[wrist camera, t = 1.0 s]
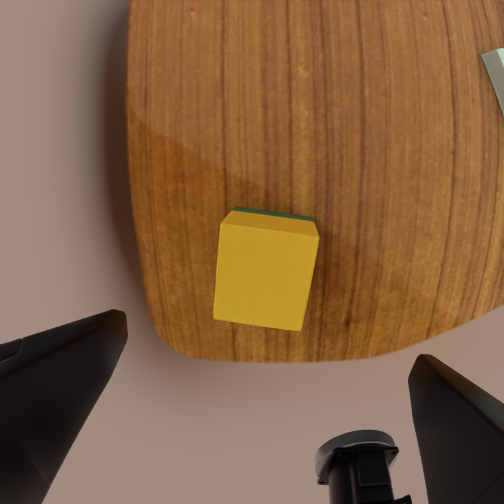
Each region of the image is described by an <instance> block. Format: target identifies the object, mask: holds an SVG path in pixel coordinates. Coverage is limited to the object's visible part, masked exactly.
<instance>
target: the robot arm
mask: <svg viewBox="0 0 504 504" xmlns="http://www.w3.org/2000/svg"><path fill="white" fill-rule="evenodd" d="M127 338H128V331H127V318H126V314H125V313H124V312H122V311H119V310H115V309H112V310H109V311H106V312H103V313H99V314H96V315H93V316H90V317H87V318H84V319H81V320H78V321H74V322H71V323H68V324H65V325H62V326H59V327H56V328H53V329H49V330H46V331H43V332H40V333H37V334H33V335H30V336H27V337H24V338H23V339H17V340H14V341H11V342H7V343H4V344H0V504H42V502H43V500H44V498H45V496H46V494H47V492H48V490H49V488H50V486H51V485H50V484H52V482H53V480H54V478H55V476H56V474H57V473H58V470H59V469H60V467H61V465H62V463H63V461H64V459H65V457H66V456H67V454H68V452H69V450H70V448H71V446H72V444H73V443H74V441H75V439H76V437H77V435H78V433H79V432H80V430H81V428H82V427H83V425H84V423H85V421H86V419H87V418H88V416H89V414H90V412H91V410H92V409H93V407H94V405H95V404H96V402H97V400H98V399H99V397H100V395H101V393H102V392H103V390H104V388H105V387H106V385H107V383H108V381H109V380H110V378H111V375H112V373H113V371H114V369H115V367H116V364H117V362H118V360H119V358H120V355H121V353H122V351H123V349H124V346H125V344H126V342H127ZM408 385H409V391H410V399H411V407H412V416H413V422H414V426H415V432H416V436H417V441H418V446H419V451H420V456H421V461H422V466H423V472H424V477H425V483H426V489H427V496H428V502H429V504H504V404H503V403H502V402H501V401H499V400H498V399H496V398H495V397H493V396H492V395H490V394H489V393H487V392H486V391H484V390H483V389H481V388H480V387H478V386H477V385H476V384H474V383H473V382H471V381H469V380H468V379H467V378H465V377H463V376H462V375H461V374H459V373H458V372H456V371H455V370H453V369H452V368H450V367H449V366H447V365H446V364H444V363H443V362H441V361H440V360H438V359H437V358H435V357H434V356H432V355H428V354H420V355H419V356H418V357H417V359H416V361H415V363H414V365H413V368H412V370H411V372H410V374H409V378H408ZM398 452H399V449H398V447H337V448H335V449H333V451H332V453H331V455H330V457H329V459H328V461H327V463H326V465H325V466H324V468H323V470H322V472H321V474H320V476H319V478H318V480H317V482H318V484H320V485H329V500H330V504H412V500H411V497H410V495H406V496H404V497H403V498H400V499H396V500H394V495H393V490H392V484H391V477H390V473H389V468H388V467H389V465H390V464H391V463H392V461H393V460H394V458H395V457H396V455H397V454H398Z"/></svg>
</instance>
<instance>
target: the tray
mask: <svg viewBox="0 0 504 504" xmlns="http://www.w3.org/2000/svg"><path fill="white" fill-rule="evenodd" d="M481 57H482V59H483V62H484V64H485V67H486V69H487V72H488V74H489V77H490V79H491V82H492V85H493V87H494V90H495V93H496V96H497V99H498V102H499V105H500V108H501V111H502V114H503V117H504V48H500V49H495V50H492V51H490V52H487V53H485V54H482V55H481Z"/></svg>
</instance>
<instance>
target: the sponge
mask: <svg viewBox="0 0 504 504" xmlns="http://www.w3.org/2000/svg"><path fill="white" fill-rule="evenodd" d="M319 239H320V237H319V234H318V231H317V228H316V226H315V223H314V221H313V218H311V217H304V216H297V215H290V214H283V213H276V212H269V211H261V210H254V209H246V208H238V207H234V208H233V209H232V211H231V212H230V213H229V214H228V215H227V216H226V218H225V219H224V220H223V221H222V222H221V224H220V234H219V245H218V257H217V270H216V283H215V296H214V311H213V319H218V320H224V321H230V322H236V323H243V324H249V325H256V326H263V327H270V328H277V329H285V330H292V331H301V329H302V325H303V320H304V316H305V311H306V306H307V301H308V297H309V292H310V287H311V282H312V277H313V271H314V266H315V261H316V256H317V250H318V245H319Z"/></svg>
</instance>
